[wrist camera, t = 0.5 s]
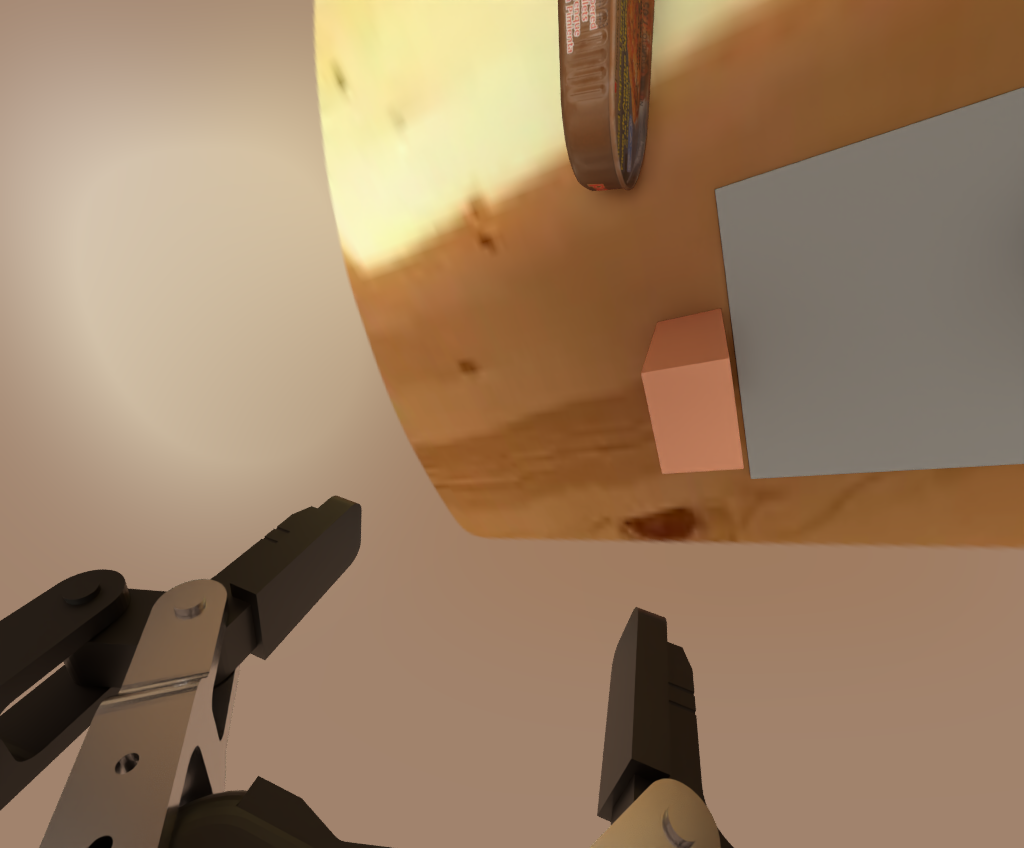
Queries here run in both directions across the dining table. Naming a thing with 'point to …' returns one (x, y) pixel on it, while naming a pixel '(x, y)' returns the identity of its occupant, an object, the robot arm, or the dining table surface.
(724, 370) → the terracotta block
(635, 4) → the tin
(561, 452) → the dining table surface
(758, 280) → the slate pad
